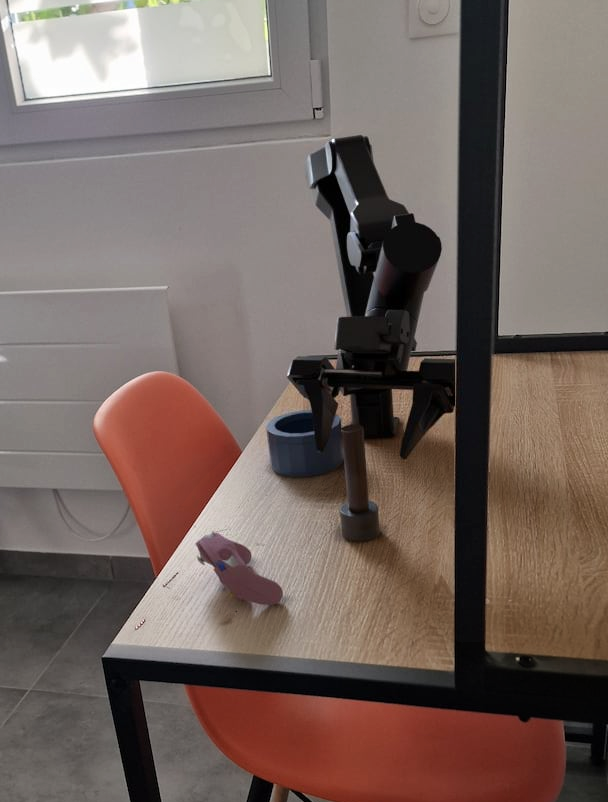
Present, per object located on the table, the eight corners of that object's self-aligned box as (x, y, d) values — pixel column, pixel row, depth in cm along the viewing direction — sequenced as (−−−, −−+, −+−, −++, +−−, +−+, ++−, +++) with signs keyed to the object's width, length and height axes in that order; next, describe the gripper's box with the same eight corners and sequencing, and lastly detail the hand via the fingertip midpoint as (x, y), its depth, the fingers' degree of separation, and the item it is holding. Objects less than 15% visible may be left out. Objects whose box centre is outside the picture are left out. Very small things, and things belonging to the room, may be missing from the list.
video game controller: (218, 582, 85) (179, 537, 82) (252, 554, 85) (215, 508, 82) (252, 629, 77) (210, 582, 73) (290, 598, 77) (250, 549, 73)
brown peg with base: (345, 523, 90) (336, 421, 85) (382, 524, 89) (374, 420, 84) (338, 541, 87) (328, 435, 82) (376, 542, 85) (369, 435, 80)
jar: (281, 448, 113) (276, 410, 110) (349, 447, 110) (346, 408, 107) (263, 477, 104) (258, 437, 102) (336, 477, 102) (332, 435, 99)
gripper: (284, 282, 87) (247, 417, 83) (460, 277, 78) (428, 428, 74) (322, 335, 96) (290, 459, 92) (482, 336, 87) (455, 473, 83)
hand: (359, 454), depth 85 cm, fingers open, 9 cm apart
